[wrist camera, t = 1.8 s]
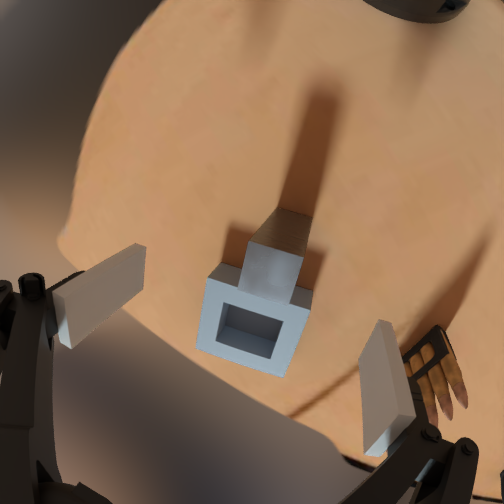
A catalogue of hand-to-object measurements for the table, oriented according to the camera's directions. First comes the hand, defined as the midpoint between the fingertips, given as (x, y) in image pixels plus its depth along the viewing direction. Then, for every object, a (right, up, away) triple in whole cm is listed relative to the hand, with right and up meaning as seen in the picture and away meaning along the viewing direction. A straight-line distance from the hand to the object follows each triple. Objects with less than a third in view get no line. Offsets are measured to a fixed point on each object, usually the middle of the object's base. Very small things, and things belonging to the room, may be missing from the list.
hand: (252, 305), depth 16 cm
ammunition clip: (+18, -10, +15) cm, 26 cm away
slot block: (0, -4, +17) cm, 18 cm away
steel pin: (+4, +5, +13) cm, 15 cm away
